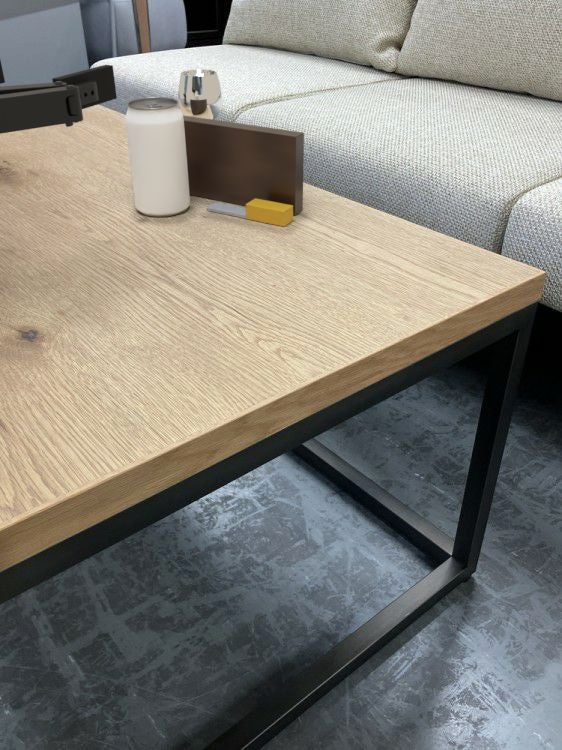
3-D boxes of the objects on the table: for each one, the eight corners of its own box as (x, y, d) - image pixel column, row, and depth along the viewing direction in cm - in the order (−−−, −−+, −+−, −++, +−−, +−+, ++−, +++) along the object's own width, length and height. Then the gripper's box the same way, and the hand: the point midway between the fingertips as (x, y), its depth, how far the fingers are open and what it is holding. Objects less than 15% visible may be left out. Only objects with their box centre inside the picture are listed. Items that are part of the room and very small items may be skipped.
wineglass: (233, 165, 97) (230, 72, 91) (201, 174, 94) (195, 79, 87) (206, 156, 101) (201, 66, 94) (175, 165, 97) (167, 72, 91)
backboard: (143, 185, 90) (135, 113, 85) (153, 181, 92) (145, 109, 87) (295, 215, 81) (296, 136, 76) (302, 210, 83) (304, 132, 78)
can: (176, 195, 87) (167, 93, 80) (199, 210, 83) (192, 104, 76) (127, 205, 84) (113, 100, 78) (148, 221, 80) (136, 112, 73)
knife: (206, 210, 83) (205, 196, 82) (216, 205, 84) (215, 190, 83) (284, 226, 78) (284, 211, 77) (293, 220, 80) (293, 205, 79)
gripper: (-249, 157, 55) (-33, 101, 71) (-26, 213, 45) (168, 134, 61) (-292, 54, 51) (-53, 18, 67) (-57, 91, 41) (159, 39, 57)
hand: (53, 73), depth 64 cm, fingers open, 13 cm apart
